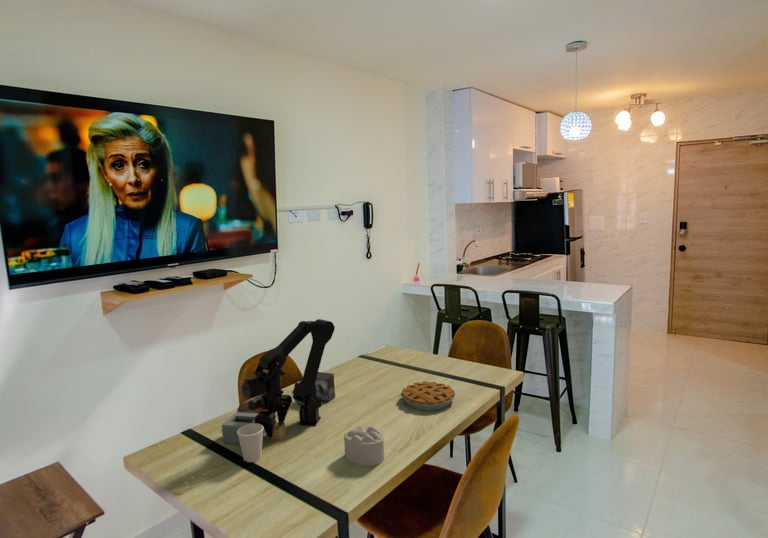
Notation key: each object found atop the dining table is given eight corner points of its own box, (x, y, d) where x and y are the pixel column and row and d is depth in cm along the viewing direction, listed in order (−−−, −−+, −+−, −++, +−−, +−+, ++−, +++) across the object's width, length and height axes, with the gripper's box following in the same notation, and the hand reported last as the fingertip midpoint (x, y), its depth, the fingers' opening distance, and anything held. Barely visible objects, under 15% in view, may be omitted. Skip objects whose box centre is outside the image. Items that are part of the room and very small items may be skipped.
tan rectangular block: (285, 435, 169) (284, 422, 168) (282, 439, 166) (281, 426, 165) (270, 434, 170) (269, 421, 170) (266, 438, 167) (265, 425, 167)
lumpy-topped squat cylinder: (362, 443, 161) (361, 419, 160) (392, 456, 153) (391, 430, 152) (340, 456, 154) (339, 431, 152) (370, 470, 145) (369, 444, 144)
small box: (306, 400, 199) (304, 376, 198) (314, 394, 205) (312, 370, 204) (328, 403, 195) (326, 378, 194) (335, 396, 201) (334, 373, 200)
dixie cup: (251, 467, 149) (249, 437, 148) (233, 460, 154) (231, 431, 152) (271, 454, 156) (268, 426, 155) (253, 448, 161) (251, 421, 159)
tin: (240, 426, 177) (238, 405, 176) (236, 424, 180) (234, 403, 178) (275, 413, 188) (274, 392, 186) (271, 410, 190) (270, 390, 189)
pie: (429, 418, 179) (428, 405, 178) (390, 401, 195) (389, 389, 194) (466, 400, 193) (466, 389, 192) (427, 386, 209) (426, 375, 208)
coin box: (265, 432, 172) (263, 413, 171) (252, 445, 163) (250, 426, 162) (237, 430, 175) (236, 412, 174) (223, 443, 165) (221, 424, 164)
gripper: (263, 379, 176) (266, 418, 179) (238, 399, 158) (242, 443, 161) (291, 380, 174) (294, 420, 176) (269, 401, 156) (272, 445, 158)
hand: (275, 431), depth 168 cm, fingers open, 9 cm apart
